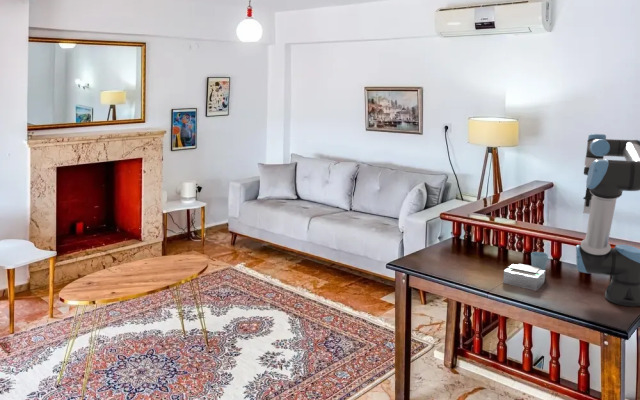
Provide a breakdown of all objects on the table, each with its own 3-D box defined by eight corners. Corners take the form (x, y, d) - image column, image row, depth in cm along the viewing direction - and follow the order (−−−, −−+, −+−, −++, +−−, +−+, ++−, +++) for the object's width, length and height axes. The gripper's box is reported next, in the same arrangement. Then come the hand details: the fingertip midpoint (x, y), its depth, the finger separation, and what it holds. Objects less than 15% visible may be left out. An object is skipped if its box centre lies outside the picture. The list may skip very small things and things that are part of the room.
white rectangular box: (511, 275, 266) (512, 263, 265) (544, 282, 257) (545, 270, 256) (503, 283, 257) (503, 270, 255) (536, 290, 248) (537, 277, 246)
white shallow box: (513, 272, 267) (514, 261, 265) (544, 279, 258) (545, 267, 257) (506, 278, 258) (506, 267, 257) (537, 285, 250) (538, 274, 248)
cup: (550, 276, 265) (551, 255, 263) (538, 278, 262) (539, 257, 260) (538, 271, 272) (539, 250, 270) (526, 273, 269) (527, 253, 267)
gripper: (600, 169, 248) (594, 216, 252) (603, 165, 270) (598, 208, 273) (582, 167, 252) (576, 213, 255) (586, 164, 273) (581, 206, 277)
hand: (587, 211), depth 264 cm, fingers open, 13 cm apart
